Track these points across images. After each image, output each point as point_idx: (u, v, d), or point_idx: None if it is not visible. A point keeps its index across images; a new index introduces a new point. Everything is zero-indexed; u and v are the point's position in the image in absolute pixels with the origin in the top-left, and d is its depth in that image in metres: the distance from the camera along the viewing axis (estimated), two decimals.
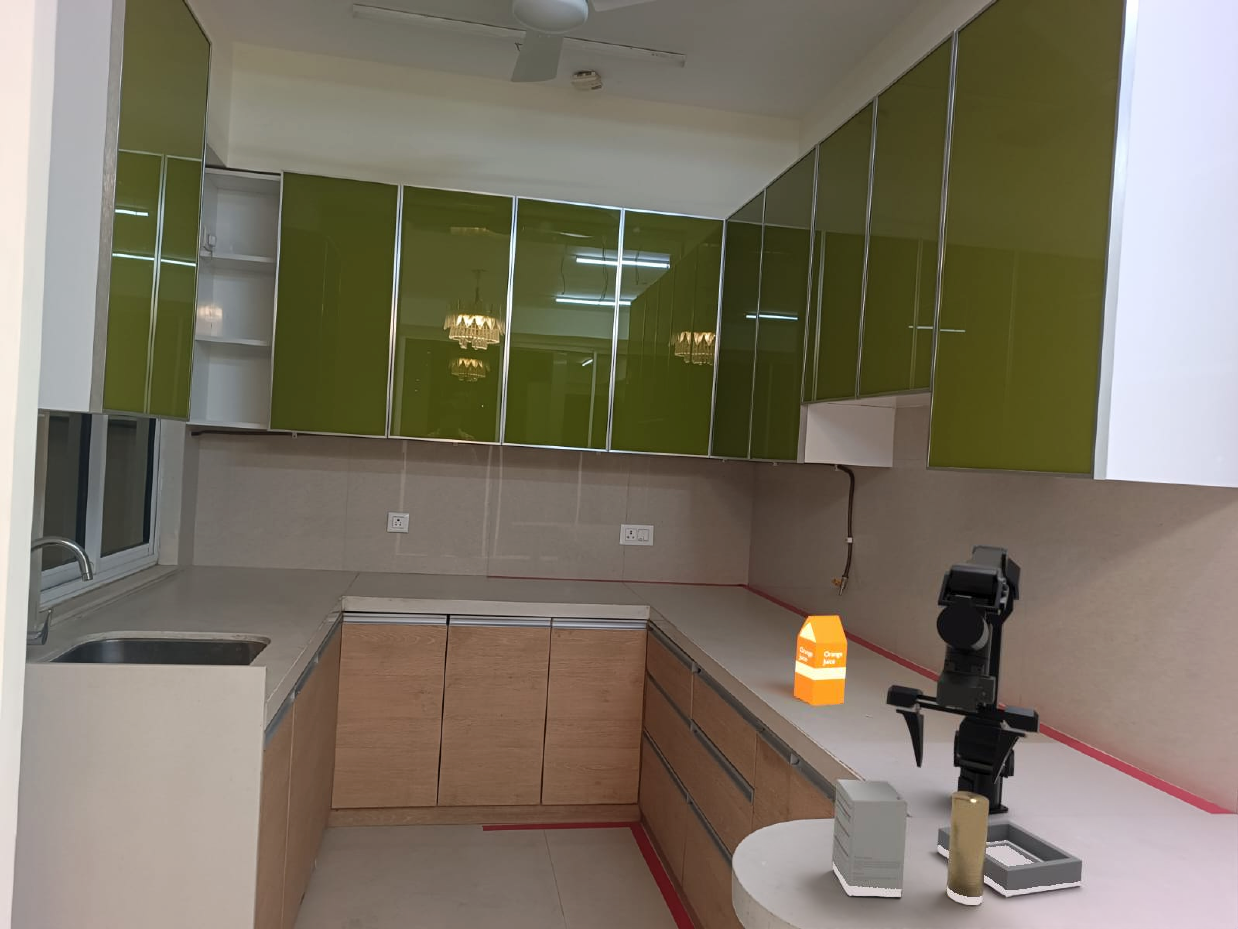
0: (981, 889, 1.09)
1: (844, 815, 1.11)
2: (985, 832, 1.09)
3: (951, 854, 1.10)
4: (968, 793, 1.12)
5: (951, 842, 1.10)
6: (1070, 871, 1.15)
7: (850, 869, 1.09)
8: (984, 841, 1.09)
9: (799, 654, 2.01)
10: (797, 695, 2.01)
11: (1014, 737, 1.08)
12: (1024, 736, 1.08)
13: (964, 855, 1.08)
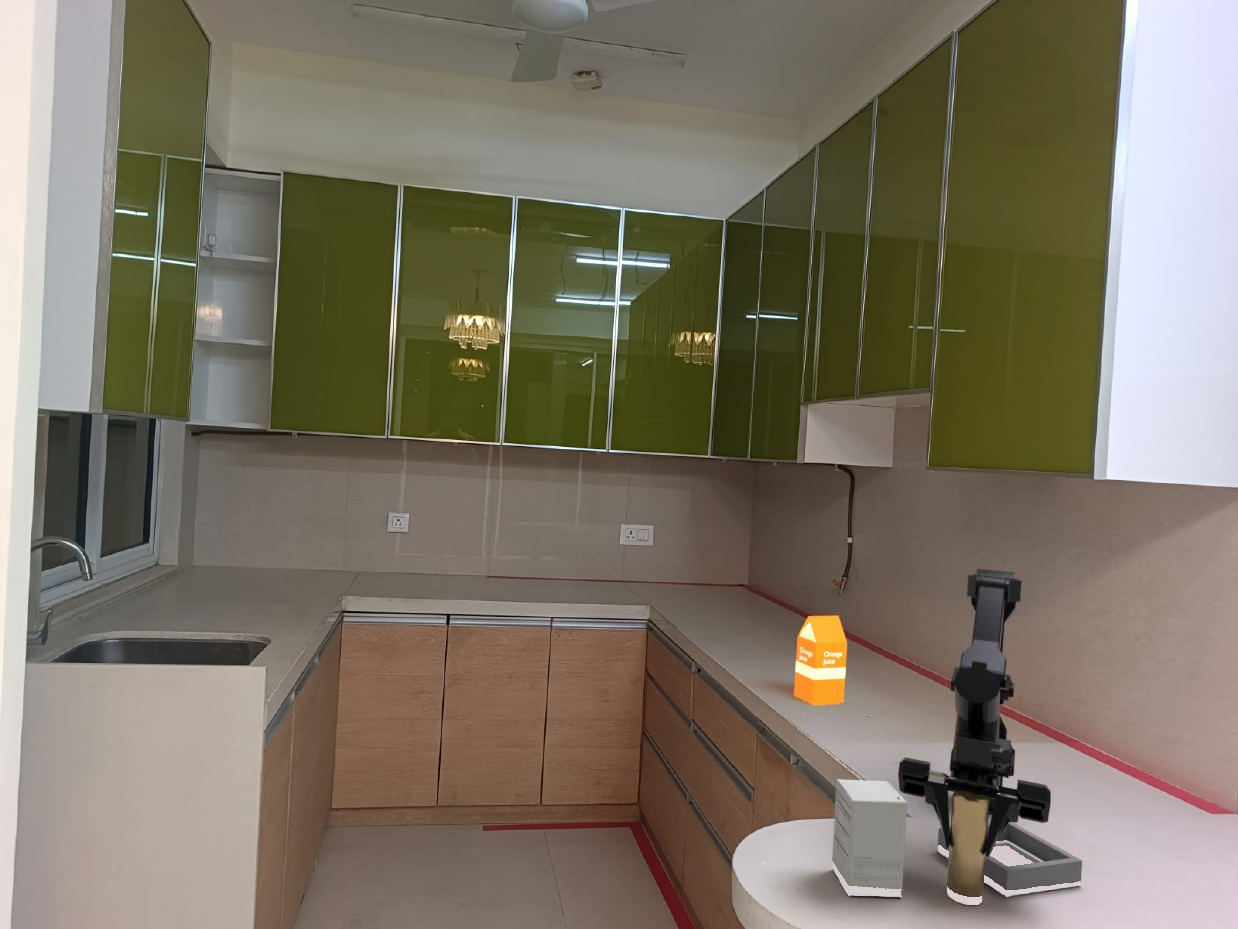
0: (981, 889, 1.09)
1: (844, 815, 1.11)
2: (985, 832, 1.09)
3: (951, 854, 1.10)
4: (968, 793, 1.12)
5: (951, 842, 1.10)
6: (1070, 871, 1.15)
7: (850, 869, 1.09)
8: (984, 841, 1.09)
9: (799, 654, 2.01)
10: (797, 695, 2.01)
11: (1009, 804, 1.10)
12: (1018, 804, 1.09)
13: (964, 855, 1.08)
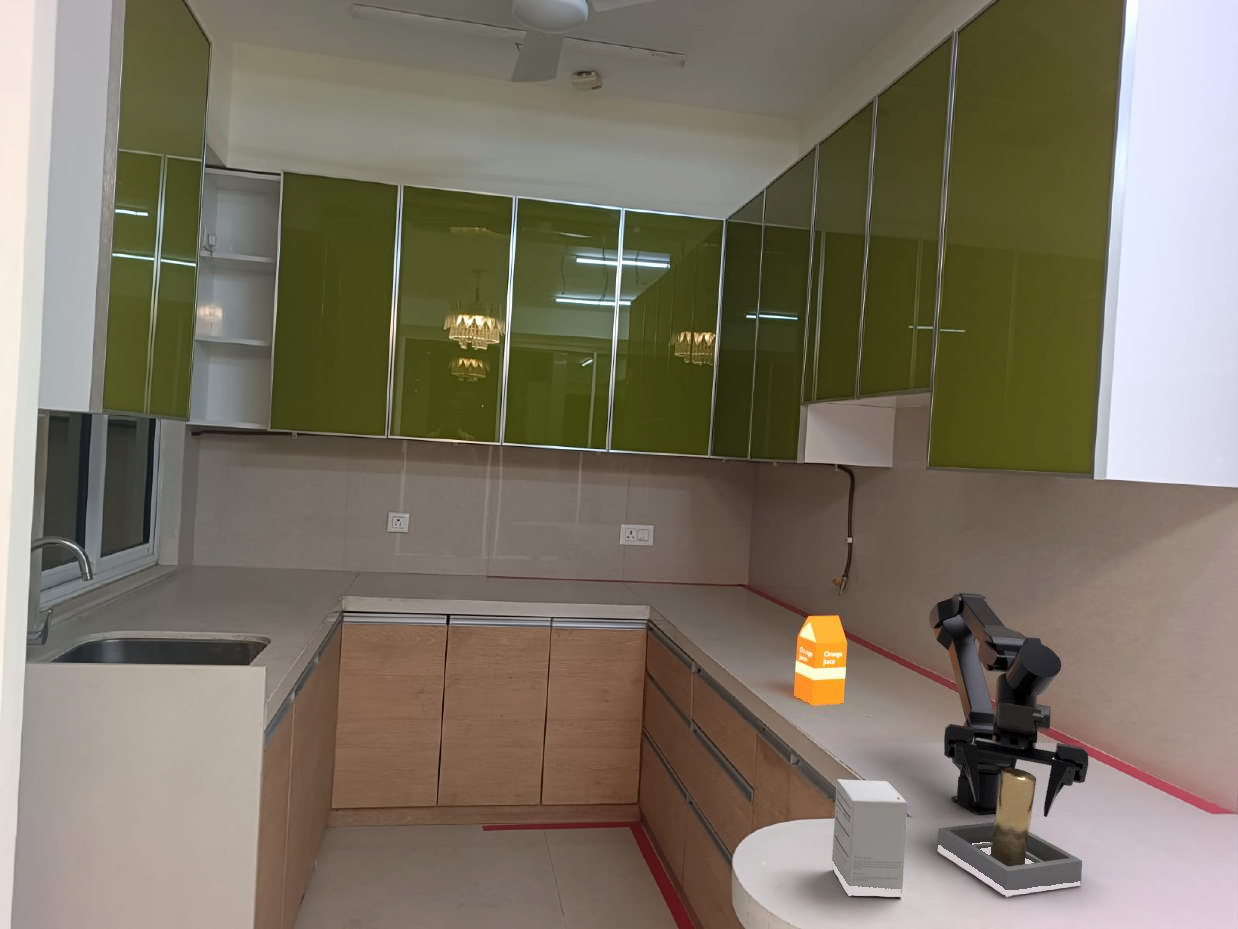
0: (1024, 857, 1.17)
1: (844, 815, 1.11)
2: (1031, 806, 1.17)
3: (997, 825, 1.19)
4: (1016, 770, 1.20)
5: (998, 814, 1.19)
6: (1070, 871, 1.15)
7: (850, 869, 1.09)
8: (1030, 815, 1.17)
9: (799, 654, 2.01)
10: (797, 695, 2.01)
11: (1065, 768, 1.18)
12: (1074, 767, 1.17)
13: (1010, 827, 1.17)
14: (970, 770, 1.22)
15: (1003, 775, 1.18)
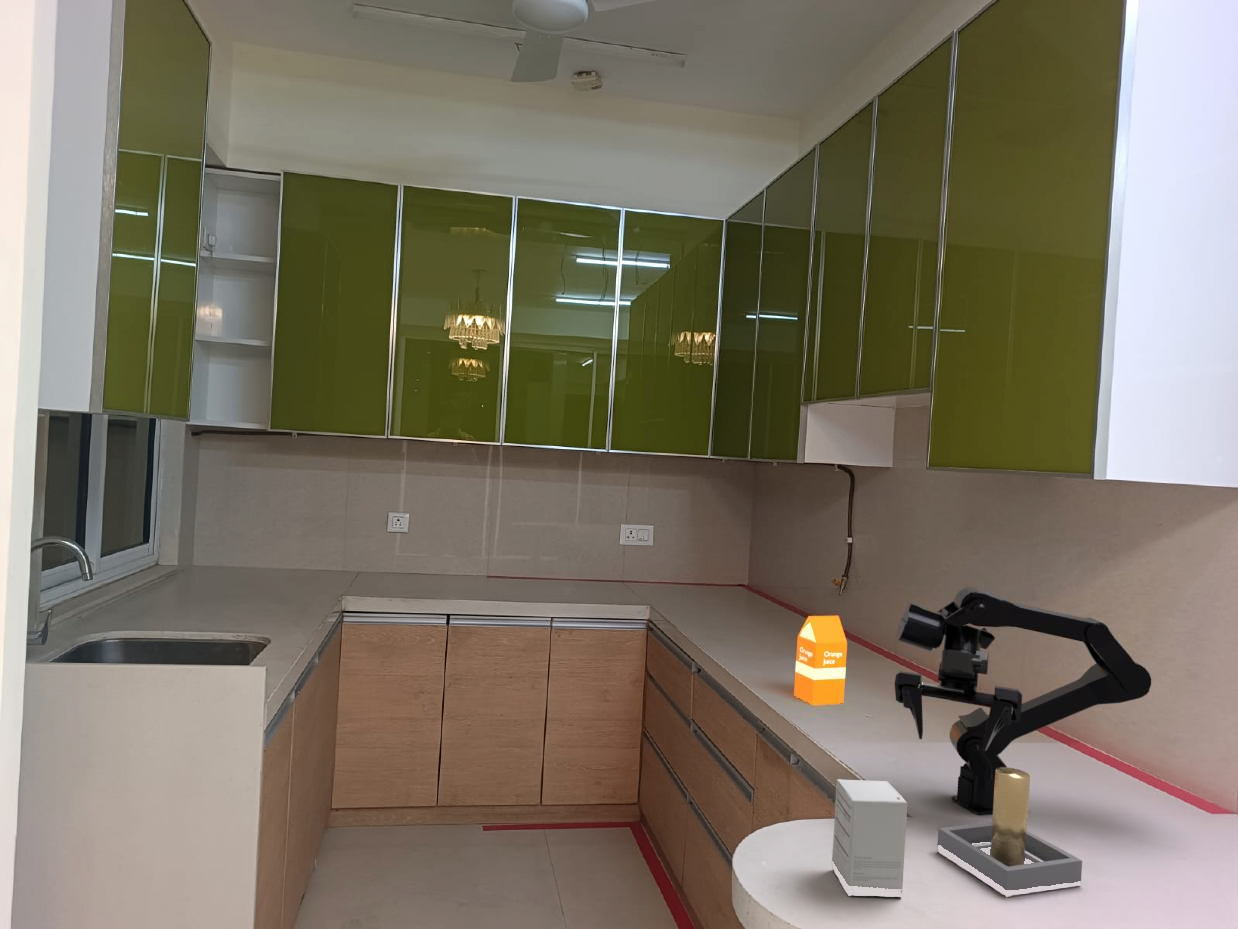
0: (1023, 857, 1.18)
1: (844, 815, 1.11)
2: (1027, 804, 1.18)
3: (994, 825, 1.19)
4: (1010, 769, 1.21)
5: (995, 814, 1.19)
6: (1070, 871, 1.15)
7: (850, 869, 1.09)
8: (1026, 813, 1.18)
9: (799, 654, 2.01)
10: (797, 695, 2.01)
11: (1003, 707, 1.30)
12: (1011, 707, 1.30)
13: (1007, 825, 1.17)
14: (915, 711, 1.34)
15: (997, 774, 1.19)
